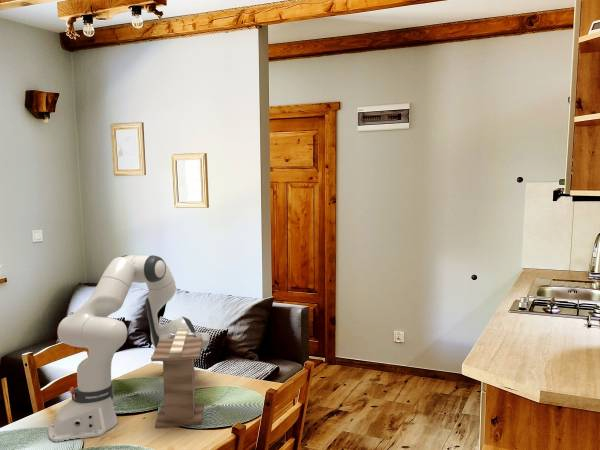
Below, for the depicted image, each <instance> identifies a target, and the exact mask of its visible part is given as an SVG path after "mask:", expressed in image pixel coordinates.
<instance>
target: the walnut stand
mask: <svg viewBox="0 0 600 450" xmlns="http://www.w3.org/2000/svg"><path fill="white" fill-rule="evenodd" d="M173 341H174V338H173V339H160V340H159V342H158V345H157V347H156V348H155V349H154V352H153V354H152V356H151V357H150V358H151V362H162V367H163V368H162V373H163V379H162V380H163V402H164V404H163V405H160V407H159V411H158V414H157V417H156V421H155V424H154V429H165V428H167V429H168V428H180V426H181V427H183V426H182V425H195V426H201V425H200V424H203V418H202V417H204V409H205V403H204V402H196V383H195V381H196V380H195V379H196V378H195V375H196V374H195V360H197V359H198V360H200V358H201V351H202V350H201V346H202V341H203V337H193V338H187V339H186V342H185V346H184V349H183V353H182V357H171V358H169V352H170V349H171V347H172V344H173Z"/></svg>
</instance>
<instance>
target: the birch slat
mask: <svg viewBox="0 0 600 450" xmlns="http://www.w3.org/2000/svg"><path fill="white" fill-rule="evenodd" d="M187 335H188V328H178V330H177V333H176V336H175V338H174V341H173V344H172V347H171V349H170V352H169V358H171V357H182V353H183V349H184V346H185V342H186V339H187Z"/></svg>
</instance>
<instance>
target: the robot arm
mask: <svg viewBox="0 0 600 450" xmlns="http://www.w3.org/2000/svg"><path fill="white" fill-rule="evenodd" d="M132 283H136V284H142V283H143V284H144V283H145V284H146V286H147V289H148V295H147V297H146V298H145V299H144V303H145V310H146V316H147V320H148V325H149V326H148V327H149V331H150V341H151V344H152V345H153V347H154V348H155V349H156V347H157V345H158V342H159V340H160V339H173V338H175V336H176V333H177V330H178V328H188V335H187V338H193V337H203V341H202V346H201V351H204V350H205V351H206V350H207V348H208V346H209V345H210V333H209V332H196V330H195V327H194V324H193V323H192V321H191V320H190V319H189V318H187V317H185V316H181V317H179V318H177V319H173V320H172V321H170V322H168V323H165V324H163V325H160V322H159V318H158V317H159V316H158V313H159V312H160V310H161V309H162V308H163V307H164V306H165V305H166V304H168V302H170V300H172V298H173V297H174V295H175V294H176V291H177V285H176V282H175V279H174V277H173V274H172V272H171V269H170V268H169V266H168V265H167V263H166V261H165V260H164V259H163V258H162V257H160V256H158V255H153V254H152V255H147V254H131V255H126V254H125V255H122V256H118V257H115V258H113V259H112V260H111V261H110V263H108V265H107V267H106V268H105V270H104V272H103V273H102V275H101V277H100V279H99V281H98V282H97V284H96V286H95V289H94V290H93V292H92V294H91V296H90V297H89V298H88V300H87V301H86V302H85V303H84V304H83V305H82V306H81V307H80V308H79V309H77V311H74V313H72V314H70V315H68V316H65V317H64V318H63V319H62V320H61V321H60V322H59V323H58V326H57V338H58V340H59V341H60V342H61V343H63V344H66V345H67V346H70V347H75V348H85V349H87V350H88V353H87V357H86V358H84V359H83V360H81V361H80V362H79V364H78V365H77V368H76V378H77V380H76V382H77V387H75V386H71V387H70V388H69V390H68V391H69V393H70V395H71V400H69V401H68V402H67V403H66V404H64V405H63V406H62V407H61V408H60V409H58V412H57V413H56V416H55V420H54V422H52V423H51V425H49V427H48V430H47V436H49V437H48V439H49V438H50V439H51V440H50V439H49V440H50V441H51V442H54V441H55V443H58V441H59V442H65V441H64V440H67V441H70V440H69V439H74V438H81V439H87V438H92V437H100V436H104V434H105V433H106V432H107V431H109V430H111V429H112V428H114V427H115V426H116V425H117V424H118V422H119V420H118V417H117V413H116V411H115V406H114V401H113V399H114V391H113V390H114V386H113V382H112V363H113V358H114V356H115V353H116V351H118V350H119V349H120V348H122V346H123V345H124V343H126V340H127V338H128V328H127V326H126V324H125V322H124V321H122V320H119V319H116V318H112V317H109V316H110V315H112V314H114V313H116V312H118V311H120V309H121V308H122V307H123V305H124V303H125V300H126V298H127V295H128V293H129V291H130V289H131V286H132ZM74 440H75V439H74Z"/></svg>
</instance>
